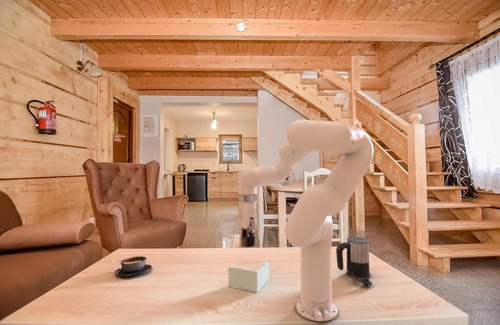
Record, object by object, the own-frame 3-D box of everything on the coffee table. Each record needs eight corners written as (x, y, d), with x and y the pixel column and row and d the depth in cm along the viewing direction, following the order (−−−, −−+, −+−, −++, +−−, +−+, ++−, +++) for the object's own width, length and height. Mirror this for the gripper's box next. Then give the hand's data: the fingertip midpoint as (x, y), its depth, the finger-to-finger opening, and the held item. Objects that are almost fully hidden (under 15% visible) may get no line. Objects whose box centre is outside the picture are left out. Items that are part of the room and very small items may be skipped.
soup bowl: (152, 275, 113) (152, 258, 113) (110, 282, 107) (110, 263, 107) (151, 264, 127) (151, 248, 127) (114, 269, 121) (114, 252, 121)
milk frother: (358, 269, 118) (358, 235, 118) (389, 283, 103) (388, 245, 103) (333, 274, 112) (332, 239, 112) (361, 290, 98) (361, 249, 98)
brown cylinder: (254, 247, 102) (254, 239, 102) (240, 247, 102) (240, 239, 102) (254, 243, 108) (254, 235, 108) (241, 243, 108) (241, 235, 108)
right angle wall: (268, 279, 108) (268, 261, 108) (257, 292, 97) (257, 271, 97) (242, 274, 113) (242, 257, 113) (228, 286, 102) (228, 266, 102)
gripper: (232, 196, 112) (233, 239, 112) (245, 201, 96) (245, 251, 96) (249, 195, 115) (250, 237, 114) (264, 200, 98) (264, 249, 98)
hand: (248, 243), depth 105 cm, fingers closed on brown cylinder, 5 cm apart
